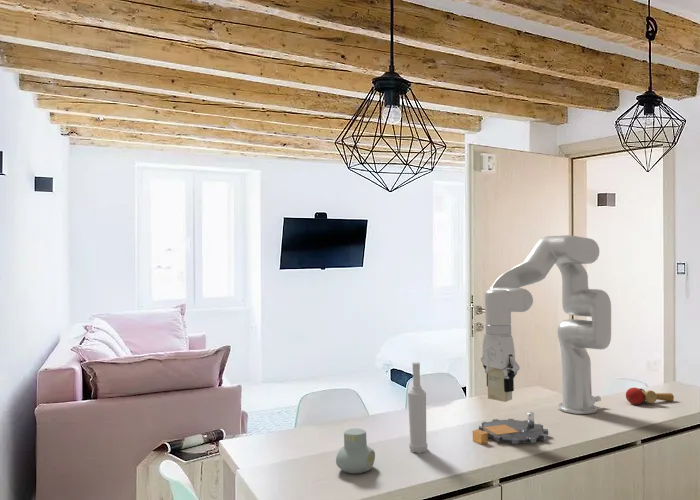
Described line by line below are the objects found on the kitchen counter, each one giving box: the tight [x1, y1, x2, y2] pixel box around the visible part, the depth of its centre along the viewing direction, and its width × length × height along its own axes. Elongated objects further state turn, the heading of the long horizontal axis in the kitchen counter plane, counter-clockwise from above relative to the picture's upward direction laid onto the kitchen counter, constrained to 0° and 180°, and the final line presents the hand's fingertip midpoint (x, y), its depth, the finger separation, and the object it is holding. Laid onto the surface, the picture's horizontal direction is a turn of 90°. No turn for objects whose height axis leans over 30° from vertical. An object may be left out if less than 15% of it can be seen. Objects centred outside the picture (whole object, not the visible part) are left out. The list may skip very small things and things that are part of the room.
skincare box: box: [487, 359, 513, 403], centre depth 168 cm, size 6×4×12 cm
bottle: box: [407, 361, 428, 454], centre depth 159 cm, size 5×5×25 cm
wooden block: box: [472, 428, 489, 446], centre depth 167 cm, size 17×7×3 cm, turn 116°
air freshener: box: [335, 428, 376, 474], centre depth 145 cm, size 11×8×10 cm
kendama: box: [625, 387, 675, 406], centre depth 201 cm, size 8×6×18 cm
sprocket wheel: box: [478, 411, 549, 445], centre depth 169 cm, size 20×20×5 cm
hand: (500, 388), depth 168 cm, fingers closed on skincare box, 7 cm apart
